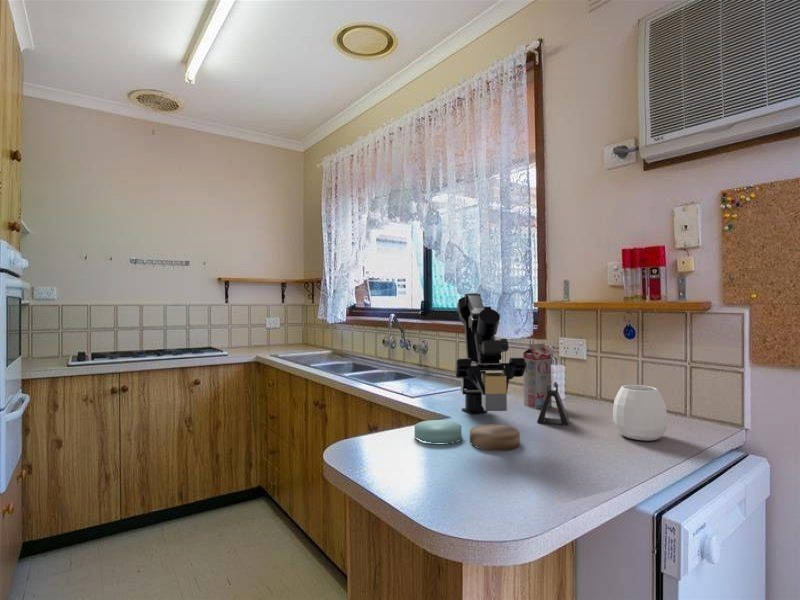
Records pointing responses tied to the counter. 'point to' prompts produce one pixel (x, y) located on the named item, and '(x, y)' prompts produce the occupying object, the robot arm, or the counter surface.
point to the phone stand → (561, 409)
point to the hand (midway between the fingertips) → (494, 393)
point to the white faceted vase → (640, 412)
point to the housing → (494, 392)
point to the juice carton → (537, 375)
